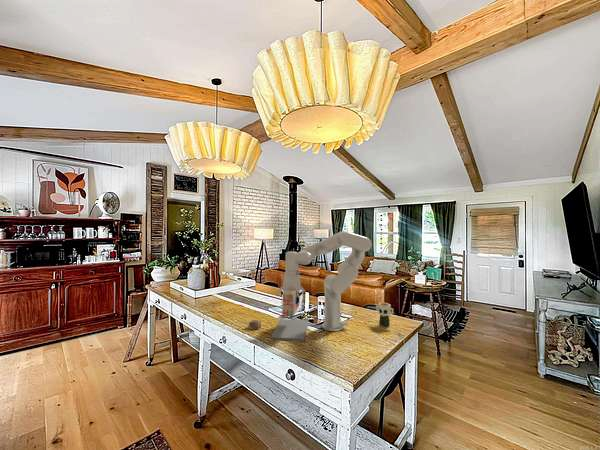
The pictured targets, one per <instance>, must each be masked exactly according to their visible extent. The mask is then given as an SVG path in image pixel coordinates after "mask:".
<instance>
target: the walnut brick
mask: <svg viewBox="0 0 600 450" xmlns="http://www.w3.org/2000/svg"><path fill="white" fill-rule="evenodd" d="M261 328H262V320H259V319H251V320H249V322H248V329H251V330H260V329H261Z"/></svg>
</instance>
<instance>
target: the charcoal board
mask: <svg viewBox="0 0 600 450" xmlns="http://www.w3.org/2000/svg"><path fill="white" fill-rule="evenodd" d="M308 322H310V321H309V319H294V318H293V319H287V318H280V320H279V321H278V324H277V326H276V327H275V329H274V331H273V333H272V335H271V337H270V339H271V340H274V339H281V340H280V341H292V340H293V341H295V342H305V340H306V336H307V330H308V327H309V323H308Z"/></svg>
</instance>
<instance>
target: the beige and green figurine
mask: <svg viewBox="0 0 600 450" xmlns="http://www.w3.org/2000/svg"><path fill="white" fill-rule="evenodd" d="M375 311H377V312H378V315H380V316H379V321H378V324H379V325H380V326H383V327H389V326H390V317H389V316H390V315H393V314H394V308H392V307H391V304H390V303H388V302H379V303H378V305H375Z"/></svg>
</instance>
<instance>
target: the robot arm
mask: <svg viewBox="0 0 600 450" xmlns="http://www.w3.org/2000/svg"><path fill="white" fill-rule="evenodd" d="M371 241H372V240H371V239H369V238H368V237H367V236H363V235H360V234H356V233H353V232H351V231H339V232H336V233H335V234H333V235H331V236H329V237H327V238H324V239H321V240H320V241H318V242H316V243H313V244H311V245H308V246H307V247H305V248H303V249H301V250H300V251H298V252H297V251H286V252H285V263H284V264H285V273H284V276H283V281H282V286H280V287H279V288H278V292H279V293H280V294H281V295H282V296H283V293H284V292H285V291H286V290H291V291H296V295H297V298H296V304H298V302H299V297H301V296H302V295H303V294H304V293H305V292H306V290H305V289H304V288H303V286H301V276H300V274H301V270H299V265H304V266H305V265H310V264H311V262H312V260H313V259H314V258H315V257H318V256H321V255H327V254H330V253H332V252H334V251H336V250H338V249H340V248H341V247H344V246H345V247H347V248H350V249H351V253H350V254H349V255H348V257H347V258H345V260H344V261H343V262H341V264H339V266H338V267H337V270H336V271H337V275H336V274H328V275H327V276H326V277H325V278H324V280H323V289H324V322H323V323H322V324H321V328H322V329H323V330H325V331H327V332H339V331H342V330H343V329H344V326H345V327H348V326H349V322H348V321H347V322H346V321H344V320H342V319H341V315H342V313H341V308H342V307H341V303H342V302H341V301H342V299H341V298H342V297H341V296H342V294H343V293H344V292H346V290H347V289H348V288H349V287H350V286H351V285H353V283H354V282H355V281H356V280H357V278H358V276H359V269H358V268H359V266H360V265H362V263H363V261H364V260H365V257H366V256H365V255H366V252H368V251H370V250H371V249H372V246H373V245H372V242H371ZM299 291H300V293H299Z"/></svg>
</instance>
